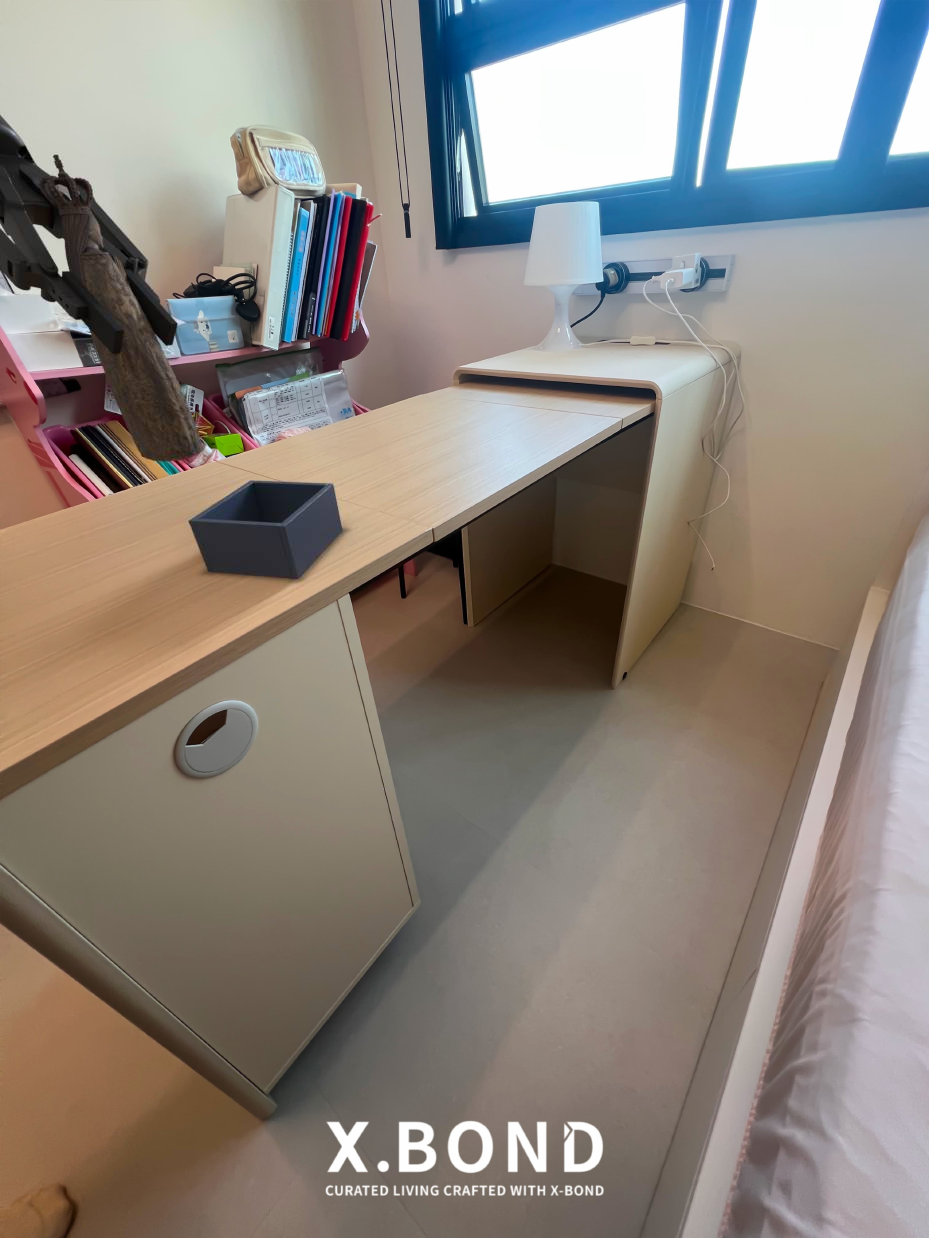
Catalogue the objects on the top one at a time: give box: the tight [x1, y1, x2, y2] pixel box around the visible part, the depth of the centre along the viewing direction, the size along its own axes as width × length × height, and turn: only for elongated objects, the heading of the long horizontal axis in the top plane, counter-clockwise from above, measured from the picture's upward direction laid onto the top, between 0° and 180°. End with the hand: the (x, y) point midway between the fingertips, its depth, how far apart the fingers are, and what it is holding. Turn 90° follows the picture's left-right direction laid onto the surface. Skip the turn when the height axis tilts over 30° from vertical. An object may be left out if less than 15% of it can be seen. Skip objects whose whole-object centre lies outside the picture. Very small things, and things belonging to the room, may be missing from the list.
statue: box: [39, 154, 204, 462], centre depth 49 cm, size 9×8×25 cm
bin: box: [188, 479, 344, 580], centre depth 66 cm, size 13×14×7 cm
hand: (145, 338), depth 49 cm, fingers closed on statue, 5 cm apart
